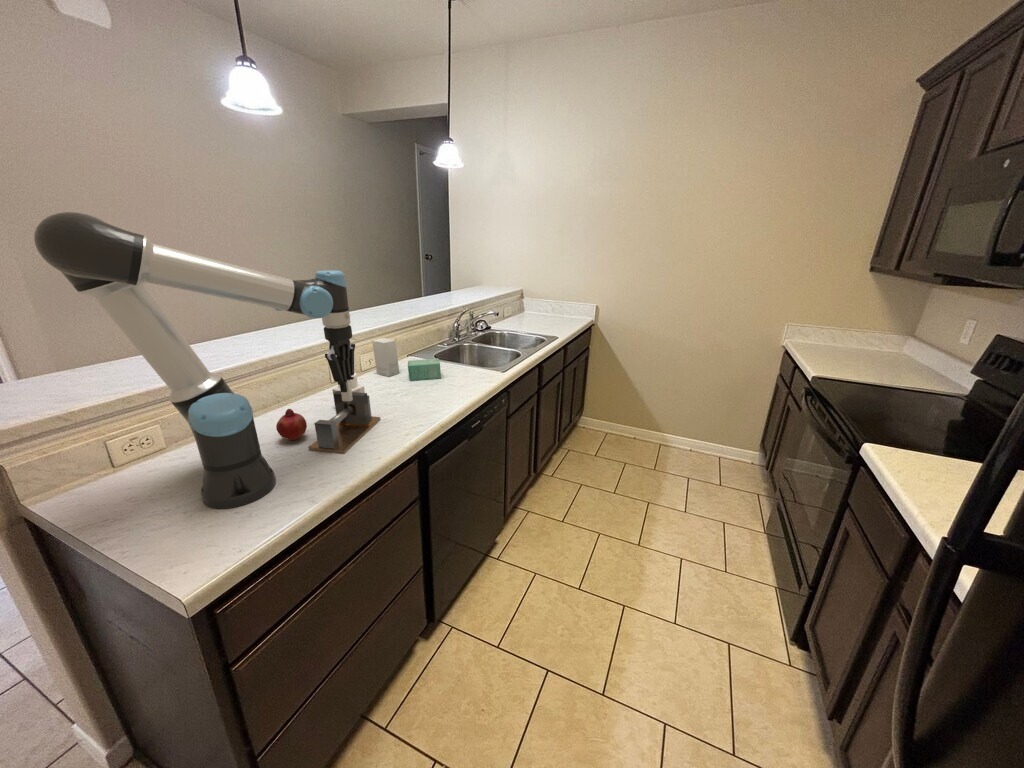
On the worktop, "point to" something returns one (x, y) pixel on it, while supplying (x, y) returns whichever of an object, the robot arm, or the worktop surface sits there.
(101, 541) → the worktop surface
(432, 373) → the box
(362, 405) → the collar
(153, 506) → the worktop surface
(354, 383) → the container
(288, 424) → the fruit
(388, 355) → the skincare box
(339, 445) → the pipe rig
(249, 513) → the worktop surface
